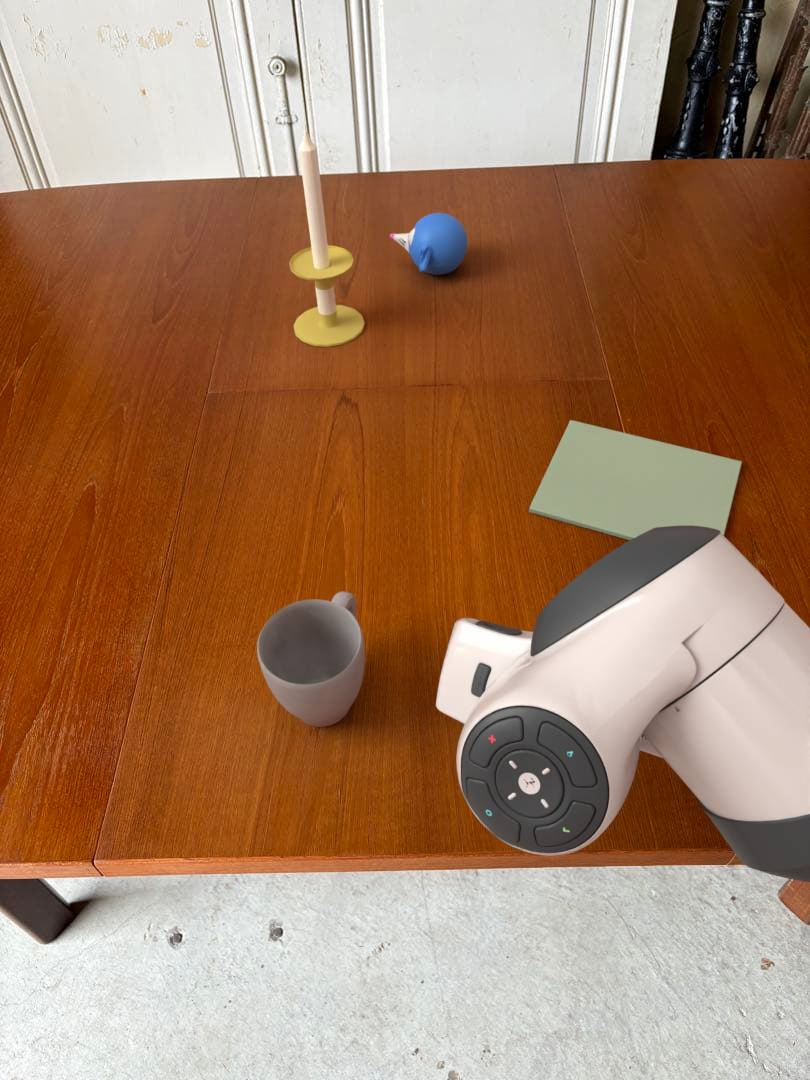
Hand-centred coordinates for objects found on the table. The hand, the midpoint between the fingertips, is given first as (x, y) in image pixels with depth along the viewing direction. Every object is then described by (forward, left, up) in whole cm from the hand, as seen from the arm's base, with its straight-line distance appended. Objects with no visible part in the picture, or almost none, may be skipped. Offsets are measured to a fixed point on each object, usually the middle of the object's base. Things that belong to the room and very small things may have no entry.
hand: (593, 669), depth 64 cm
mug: (+22, +5, -10) cm, 25 cm away
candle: (+49, -47, -10) cm, 69 cm away
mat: (+2, -31, -9) cm, 33 cm away
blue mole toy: (+42, -66, -10) cm, 79 cm away
